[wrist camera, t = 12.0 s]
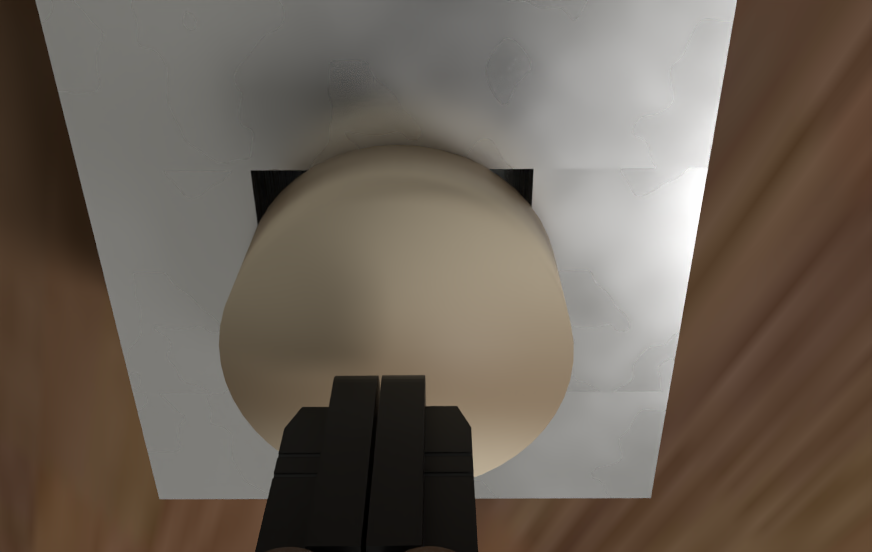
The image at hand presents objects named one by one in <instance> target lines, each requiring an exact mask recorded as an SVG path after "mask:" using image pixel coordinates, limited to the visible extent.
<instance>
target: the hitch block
mask: <svg viewBox="0 0 872 552" xmlns="http://www.w3.org/2000/svg"><path fill="white" fill-rule="evenodd" d="M35 1H36V5H37V9H38V13H39V17H40V21H41V25H42V29H43V33H44V37H45V41H46V45H47V49H48V53H49V57H50V61H51V65H52V69H53V73H54V77H55V81H56V85H57V89H58V93H59V97H60V101H61V105H62V109H63V113H64V117H65V121H66V125H67V129H68V133H69V137H70V141H71V145H72V149H73V153H74V157H75V161H76V165H77V169H78V173H79V177H80V182H81V186H82V190H83V194H84V198H85V202H86V206H87V210H88V214H89V218H90V222H91V226H92V230H93V234H94V238H95V242H96V246H97V250H98V254H99V258H100V262H101V266H102V270H103V274H104V278H105V282H106V286H107V290H108V294H109V298H110V302H111V306H112V310H113V314H114V318H115V322H116V326H117V330H118V334H119V338H120V342H121V346H122V350H123V354H124V358H125V362H126V366H127V370H128V374H129V378H130V382H131V386H132V390H133V394H134V398H135V402H136V407H137V411H138V415H139V419H140V423H141V427H142V431H143V435H144V439H145V443H146V447H147V451H148V455H149V459H150V463H151V467H152V471H153V475H154V479H155V483H156V487H157V491H158V495H159V499H268V495H269V491H270V487H271V482H272V478H274V470H275V465H276V461H277V458H278V455H279V454H278V453H279V451H278V450H276V449H275V448H274V447H272V446H271V445H270V444H268V443H267V442H266V441H265V440H264V439H263V438H262V437H261V436H260V435H259V434H258V433H257V432H256V431H255V430H254V429H253V427H252V426H251V425H250V424H249V423H248V421H247V420H246V419H245V418H244V416H243V415H242V413H241V412H240V410H239V408H238V407H237V405H236V403H235V402H234V400H233V398H232V396H231V394H230V391H229V389H228V387H227V384H226V382H225V378H224V375H223V371H222V367H221V362H220V352H219V334H220V324H221V320H222V315H223V311H224V307H225V304H226V302H227V300H228V297H229V295H230V292H231V290H232V287H233V285H234V282H235V280H236V277H237V275H238V273H239V270H240V268H241V265H242V263H243V260H244V258H245V255H246V253H247V251H248V248H249V246H250V243H251V241H252V238H253V236H254V233H255V231H256V229H257V226H258V224H259V222H260V220H261V218H262V217H263V215H264V213H265V212H266V210H267V208H268V207H269V205H270V204H271V203H272V202H273V201H274V199H275V198H276V197H277V196H278V195H279V193H280V192H281V191H282V190H283V189H284V188H285V187H287V186H288V185H289V184H290V183H291V182H292V181H293V180H294V179H296V178H297V177H298V176H300V175H301V174H303V173H304V172H306V171H307V170H309V169H310V168H312V167H313V166H315V165H317V164H320V163H322V162H324V161H326V160H328V159H330V158H332V157H335V156H338V155H341V154H344V153H347V152H350V151H353V150H358V149H363V148H368V147H373V146H384V145H414V146H423V147H429V148H434V149H440V150H444V151H447V152H450V153H453V154H457V155H460V156H463V157H465V158H467V159H469V160H472V161H474V162H476V163H478V164H480V165H482V166H484V167H486V168H487V169H489V170H491V171H492V172H494V173H495V174H497V175H499V176H500V177H501V178H503V179H504V180H505V181H506V182H507V183H509V184H510V185H511V186H512V187H514V188H515V189H516V190H517V191H518V192H519V193H520V194H521V195H522V197H523V198H524V199H525V200H526V201H527V202H528V203H529V204H530V206H531V207H532V209H533V210H534V211H535V213H536V214H537V216H538V217H539V219H540V220H541V222H542V224H543V226H544V228H545V230H546V232H547V234H548V236H549V239H550V243H551V246H552V249H553V252H554V255H555V260H556V264H557V268H558V272H559V276H560V281H561V285H562V289H563V293H564V297H565V302H566V306H567V310H568V314H569V318H570V323H571V329H572V335H573V342H574V357H573V367H572V373H571V378H570V382H569V385H568V388H567V391H566V394H565V397H564V399H563V401H562V403H561V405H560V407H559V408H558V410H557V412H556V414H555V416H554V417H553V418H552V420H551V421H550V422H549V424H548V425H547V427H546V428H545V429H544V430H543V431H542V433H541V434H540V435H539V436H538V437H537V438H536V439H535V440H534V441H533V442H532V443H531V444H530V445H528V446H527V447H526V448H525V449H524V450H522V451H521V452H520V453H519V454H517V455H516V456H515V457H513V458H511V459H510V460H508V461H507V462H505V463H504V464H502V465H500V466H498V467H496V468H494V469H492V470H490V471H488V472H486V473H484V474H482V475H479V476H477V477H474V488H475V498H651V493H652V487H653V482H654V476H655V470H656V464H657V458H658V453H659V447H660V441H661V435H662V430H663V424H664V418H665V412H666V406H667V401H668V395H669V389H670V383H671V378H672V372H673V366H674V360H675V354H676V349H677V343H678V337H679V331H680V326H681V320H682V314H683V308H684V302H685V297H686V291H687V285H688V279H689V274H690V268H691V262H692V256H693V250H694V245H695V239H696V233H697V227H698V222H699V216H700V210H701V204H702V198H703V193H704V187H705V181H706V175H707V170H708V164H709V158H710V152H711V146H712V141H713V135H714V129H715V123H716V118H717V112H718V106H719V100H720V94H721V89H722V83H723V77H724V71H725V66H726V60H727V54H728V48H729V42H730V37H731V31H732V25H733V19H734V14H735V8H736V2H737V0H35Z"/></svg>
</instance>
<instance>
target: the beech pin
mask: <svg viewBox="0 0 872 552" xmlns="http://www.w3.org/2000/svg"><path fill="white" fill-rule="evenodd" d="M219 352H220V362H221V367H222V371H223V375H224V378H225V382H226V384H227V387H228V389H229V391H230V394H231V396H232V398H233V400H234V402H235V403H236V405H237V407H238V408H239V410H240V412H241V413H242V415H243V416H244V418H245V419H246V420H247V421H248V423H249V424H250V425H251V426H252V427H253V429H254V430H255V431H256V432H257V433H258V434H259V435H260V436H261V437H262V438H263V439H264V440H265V441H266V442H267V443H268V444H270V445H271V446H272V447H274V448H275V449H276V450H278V451H279V448H280V444H281V440H282V436H283V431H284V428H285V427H286V426H287V424H288V423H289V422H290V421H291V420H292V418H293V417H294V416H295V415H296V414H297V412H298V411H299V410H300V409H301V408H302V407H329V402H330V396H331V391H332V385H333V380H334V377H335V376H367V375H378V376H379V380H380V387H381V378H382V375H425V377H426V406H458V408H459V409H460V411H461V412H462V414H463V415H464V417H465V418H466V420H467V422H468V423H469V425H470V426H471V432H472V450H473V469H474V477H477V476H479V475H482V474H484V473H486V472H488V471H490V470H492V469H494V468H496V467H498V466H500V465H502V464H504V463H505V462H507V461H508V460H510V459H511V458H513V457H515V456H516V455H517V454H519V453H520V452H521V451H522V450H524V449H525V448H526V447H527V446H528V445H530V444H531V443H532V442H533V441H534V440H535V439H536V438H537V437H538V436H539V435H540V434H541V433H542V431H543V430H544V429H545V428H546V427H547V425H548V424H549V422H550V421H551V420H552V418H553V417H554V416H555V414H556V412H557V410H558V408H559V407H560V405H561V403H562V401H563V399H564V397H565V394H566V391H567V388H568V385H569V382H570V378H571V373H572V367H573V357H574V342H573V335H572V329H571V323H570V318H569V314H568V310H567V306H566V302H565V297H564V293H563V289H562V285H561V281H560V276H559V272H558V268H557V264H556V260H555V255H554V252H553V249H552V246H551V243H550V239H549V236H548V234H547V232H546V230H545V228H544V226H543V224H542V222H541V220H540V219H539V217H538V216H537V214H536V213H535V211H534V210H533V209H532V207H531V206H530V204H529V203H528V202H527V201H526V200H525V199H524V198H523V197H522V195H521V194H520V193H519V192H518V191H517V190H516V189H515V188H514V187H512V186H511V185H510V184H509V183H507V182H506V181H505V180H504V179H503V178H501V177H500V176H499V175H497V174H495V173H494V172H492V171H491V170H489V169H487V168H486V167H484V166H482V165H480V164H478V163H476V162H474V161H472V160H469V159H467V158H465V157H463V156H460V155H457V154H453V153H450V152H447V151H444V150H440V149H434V148H429V147H423V146H414V145H384V146H373V147H368V148H363V149H358V150H353V151H350V152H347V153H344V154H341V155H338V156H335V157H332V158H330V159H328V160H326V161H324V162H322V163H320V164H317V165H315V166H313V167H312V168H310V169H309V170H307V171H306V172H304V173H303V174H301V175H300V176H298V177H297V178H296V179H294V180H293V181H292V182H291V183H290V184H289V185H288V186H287V187H285V188H284V189H283V190H282V191H281V192H280V193H279V195H278V196H277V197H276V198H275V199H274V201H273V202H272V203H271V204H270V205H269V207H268V208H267V210H266V212H265V213H264V215H263V217H262V218H261V220H260V222H259V224H258V226H257V229H256V231H255V233H254V236H253V238H252V241H251V243H250V246H249V248H248V251H247V253H246V255H245V258H244V260H243V263H242V265H241V268H240V270H239V273H238V275H237V277H236V280H235V282H234V285H233V287H232V290H231V292H230V295H229V297H228V300H227V302H226V304H225V307H224V311H223V315H222V320H221V324H220V334H219Z"/></svg>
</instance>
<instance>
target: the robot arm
mask: <svg viewBox="0 0 872 552" xmlns="http://www.w3.org/2000/svg"><path fill="white" fill-rule="evenodd" d="M278 454H279V455H278V458H277V461H276V465H275V470H274V478H272V482H271V487H270V491H269V495H268V499H267V504H266V508H265V512H264V516H263V521H262V525H261V529H260V533H259V538H258V542H257V546H256V550H255V552H478V544H477V525H476V507H475V488H474V469H473V450H472V432H471V426H470V425H469V423H468V422H467V420H466V418H465V417H464V415H463V414H462V412H461V411H460V409H459V408H458V406H426V377H425V375H382V378H381V387H380V380H379V376H378V375H367V376H335V377H334V380H333V385H332V391H331V396H330V402H329V407H302V408H301V409H300V410H299V411H298V412H297V414H296V415H295V416H294V417H293V418H292V420H291V421H290V422H289V423H288V424H287V426H286V427H285V428H284V431H283V436H282V440H281V444H280V448H279V453H278Z"/></svg>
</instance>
